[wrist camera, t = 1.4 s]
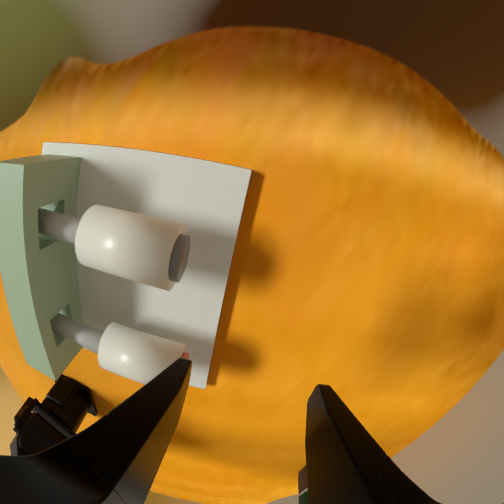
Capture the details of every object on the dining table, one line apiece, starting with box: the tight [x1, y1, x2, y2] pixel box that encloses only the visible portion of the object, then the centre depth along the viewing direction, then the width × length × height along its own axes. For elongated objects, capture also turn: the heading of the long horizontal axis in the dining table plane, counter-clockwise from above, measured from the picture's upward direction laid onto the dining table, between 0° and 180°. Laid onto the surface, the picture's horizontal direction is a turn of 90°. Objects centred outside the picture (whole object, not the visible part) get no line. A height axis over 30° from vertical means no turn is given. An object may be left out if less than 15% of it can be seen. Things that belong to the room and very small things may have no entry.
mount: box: [0, 142, 252, 389], centre depth 17 cm, size 20×18×7 cm
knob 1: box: [38, 205, 190, 291], centre depth 15 cm, size 12×4×4 cm, turn 77°
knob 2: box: [50, 313, 190, 385], centre depth 18 cm, size 12×4×4 cm, turn 77°
